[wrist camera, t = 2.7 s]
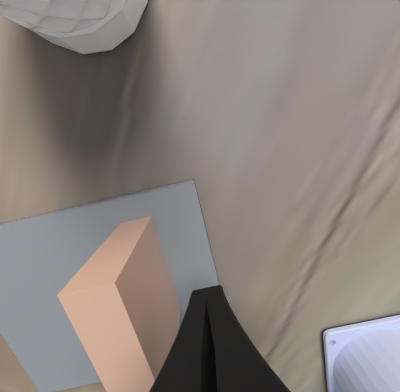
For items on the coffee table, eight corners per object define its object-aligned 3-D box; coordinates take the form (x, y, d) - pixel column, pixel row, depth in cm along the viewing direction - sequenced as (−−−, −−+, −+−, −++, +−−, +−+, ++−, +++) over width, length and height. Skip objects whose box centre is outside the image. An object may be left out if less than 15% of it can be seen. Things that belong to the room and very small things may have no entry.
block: (180, 306, 14) (171, 419, 9) (151, 312, 14) (123, 428, 9) (151, 216, 12) (114, 283, 7) (118, 223, 13) (54, 295, 7)
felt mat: (234, 345, 16) (236, 355, 16) (47, 382, 17) (40, 394, 16) (193, 178, 13) (193, 181, 12) (-45, 234, 13) (-60, 240, 13)
